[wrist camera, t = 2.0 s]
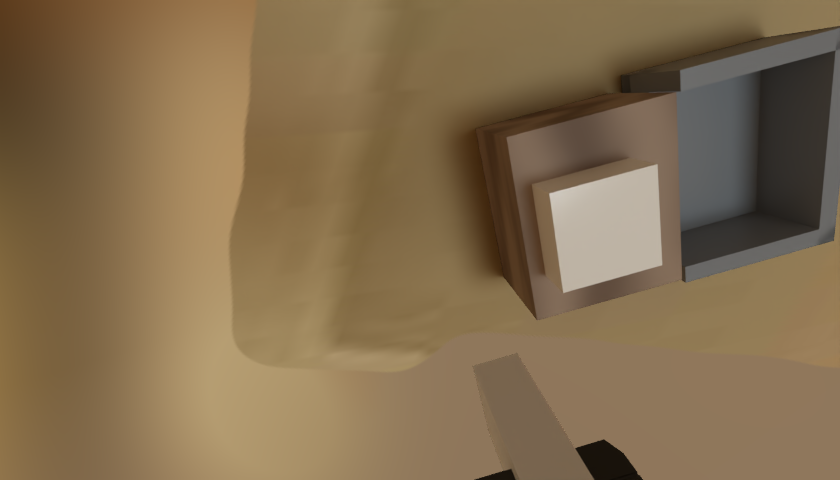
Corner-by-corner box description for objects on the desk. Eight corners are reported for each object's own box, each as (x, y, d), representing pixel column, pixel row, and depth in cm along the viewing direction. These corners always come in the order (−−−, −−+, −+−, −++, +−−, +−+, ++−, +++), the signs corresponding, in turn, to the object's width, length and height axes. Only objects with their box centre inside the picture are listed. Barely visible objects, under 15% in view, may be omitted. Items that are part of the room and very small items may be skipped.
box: (765, 37, 30) (856, 23, 25) (758, 217, 35) (833, 240, 29) (620, 75, 30) (680, 70, 24) (633, 252, 35) (685, 282, 29)
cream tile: (629, 157, 25) (657, 163, 22) (635, 250, 27) (662, 265, 24) (531, 184, 24) (549, 193, 22) (545, 275, 26) (563, 292, 24)
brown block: (608, 93, 30) (676, 92, 24) (621, 244, 34) (681, 279, 28) (475, 128, 30) (506, 137, 23) (503, 277, 34) (537, 320, 27)
